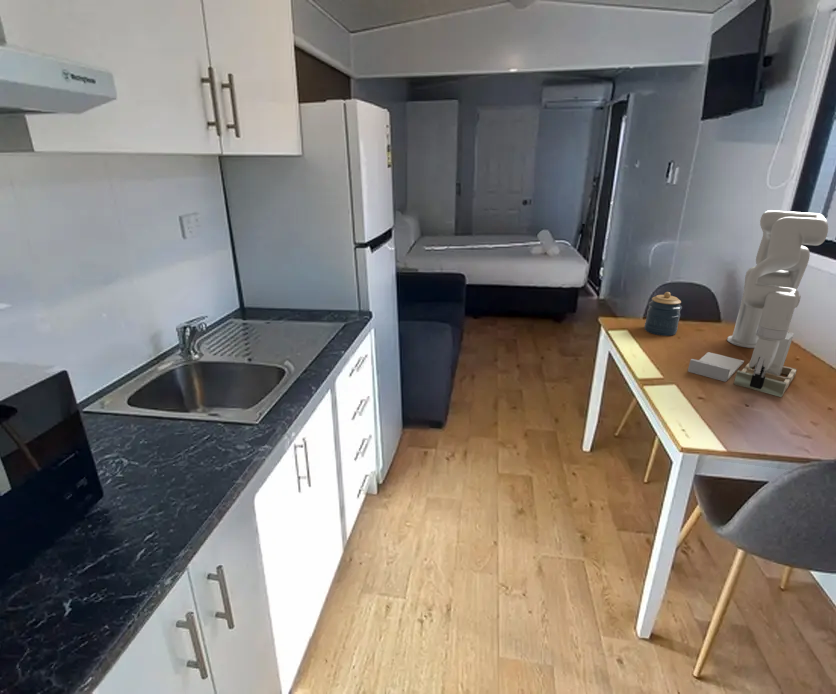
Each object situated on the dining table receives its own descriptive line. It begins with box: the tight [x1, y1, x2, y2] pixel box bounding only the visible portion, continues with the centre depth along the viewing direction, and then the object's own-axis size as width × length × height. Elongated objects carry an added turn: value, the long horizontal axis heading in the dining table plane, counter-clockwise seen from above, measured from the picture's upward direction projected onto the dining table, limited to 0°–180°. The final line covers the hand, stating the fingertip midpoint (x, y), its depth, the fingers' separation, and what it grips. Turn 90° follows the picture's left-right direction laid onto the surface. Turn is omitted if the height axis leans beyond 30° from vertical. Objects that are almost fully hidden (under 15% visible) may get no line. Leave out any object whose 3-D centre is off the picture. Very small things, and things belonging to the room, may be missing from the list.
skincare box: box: [766, 331, 795, 376], centre depth 168 cm, size 8×7×16 cm
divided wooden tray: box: [733, 361, 798, 398], centre depth 166 cm, size 24×13×4 cm, turn 136°
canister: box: [644, 291, 683, 337], centre depth 210 cm, size 13×13×18 cm
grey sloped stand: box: [687, 351, 745, 383], centre depth 176 cm, size 24×12×4 cm, turn 136°
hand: (755, 386), depth 155 cm, fingers closed
